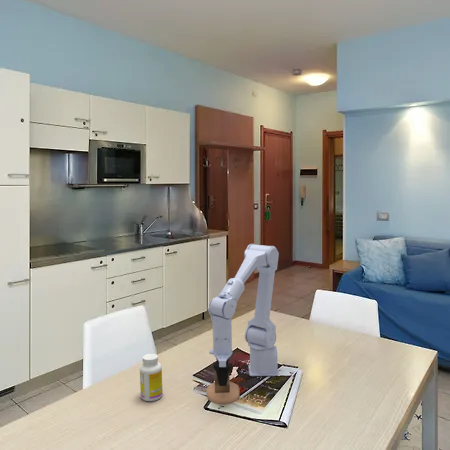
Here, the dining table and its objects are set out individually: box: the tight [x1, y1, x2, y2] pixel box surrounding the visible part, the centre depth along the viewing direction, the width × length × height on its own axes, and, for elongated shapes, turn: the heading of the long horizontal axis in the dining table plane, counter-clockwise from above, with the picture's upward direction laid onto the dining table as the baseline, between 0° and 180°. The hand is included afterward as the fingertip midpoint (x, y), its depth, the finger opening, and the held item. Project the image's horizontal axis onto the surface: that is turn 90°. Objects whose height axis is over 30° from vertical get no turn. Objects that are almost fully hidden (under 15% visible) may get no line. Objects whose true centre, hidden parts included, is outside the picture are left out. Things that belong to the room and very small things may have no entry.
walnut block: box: [213, 368, 231, 393], centre depth 129 cm, size 4×4×6 cm
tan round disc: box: [206, 381, 240, 405], centre depth 129 cm, size 10×10×2 cm
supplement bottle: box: [139, 353, 163, 402], centre depth 129 cm, size 7×7×13 cm
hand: (222, 379), depth 129 cm, fingers open, 7 cm apart
